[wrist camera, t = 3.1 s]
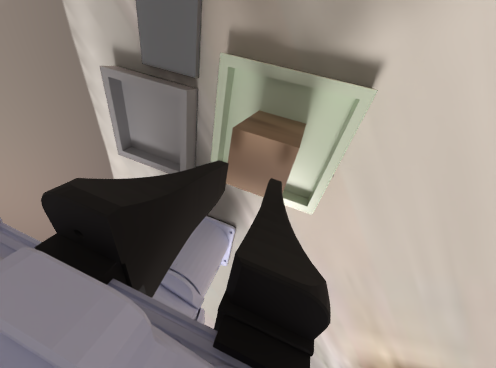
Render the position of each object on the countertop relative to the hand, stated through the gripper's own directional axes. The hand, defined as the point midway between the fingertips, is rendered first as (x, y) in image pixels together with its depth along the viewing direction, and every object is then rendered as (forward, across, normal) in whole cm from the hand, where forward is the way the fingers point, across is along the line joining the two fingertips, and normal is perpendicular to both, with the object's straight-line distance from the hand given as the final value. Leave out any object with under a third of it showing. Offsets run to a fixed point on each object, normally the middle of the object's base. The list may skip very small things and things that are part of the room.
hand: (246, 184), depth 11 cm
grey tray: (+9, +14, +2) cm, 17 cm away
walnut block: (+9, 0, 0) cm, 9 cm away
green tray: (+9, 0, 0) cm, 9 cm away
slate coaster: (+9, +12, -6) cm, 17 cm away
